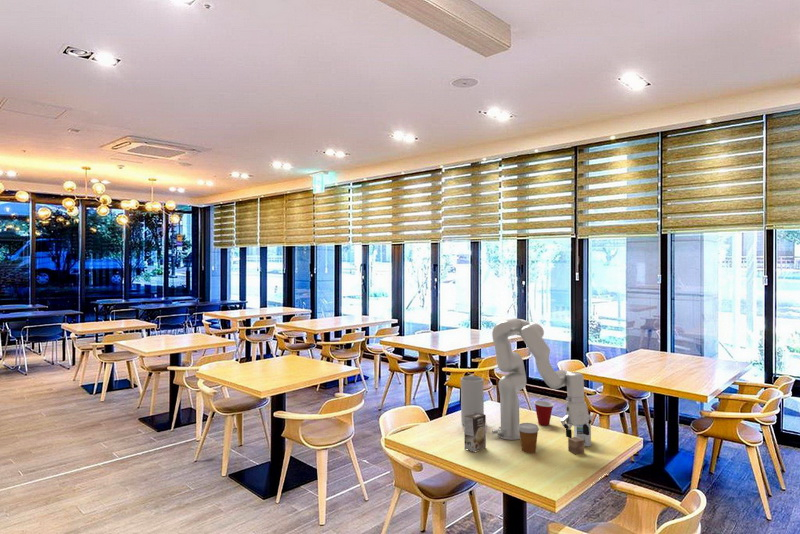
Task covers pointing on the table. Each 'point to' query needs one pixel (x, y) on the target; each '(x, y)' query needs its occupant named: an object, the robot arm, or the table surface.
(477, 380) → the cylinder vase
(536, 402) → the plastic cup
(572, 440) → the walnut block
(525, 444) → the disposable coffee cup
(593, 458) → the table surface
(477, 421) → the coffee box
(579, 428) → the light bulb box
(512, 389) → the robot arm
